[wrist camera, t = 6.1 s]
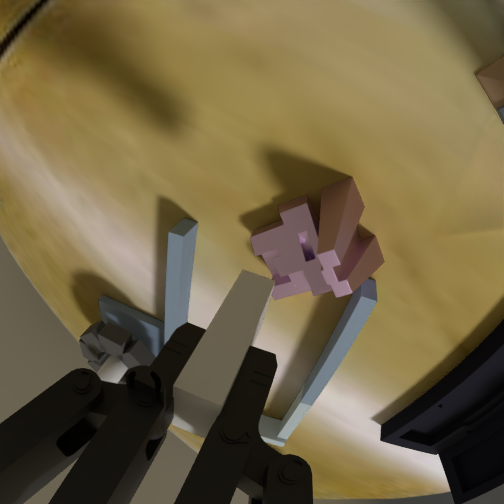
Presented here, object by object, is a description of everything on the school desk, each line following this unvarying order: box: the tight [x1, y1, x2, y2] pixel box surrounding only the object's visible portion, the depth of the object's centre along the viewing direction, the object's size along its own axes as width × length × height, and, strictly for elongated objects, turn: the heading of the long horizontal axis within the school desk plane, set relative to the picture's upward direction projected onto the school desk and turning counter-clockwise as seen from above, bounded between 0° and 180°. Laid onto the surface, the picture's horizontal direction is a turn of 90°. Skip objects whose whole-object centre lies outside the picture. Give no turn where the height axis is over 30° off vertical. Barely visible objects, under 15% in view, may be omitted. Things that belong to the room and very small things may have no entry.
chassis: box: [97, 218, 377, 447], centre depth 27 cm, size 24×25×8 cm
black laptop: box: [380, 320, 504, 504], centre depth 21 cm, size 21×16×10 cm
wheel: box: [79, 321, 156, 384], centre depth 31 cm, size 10×10×2 cm
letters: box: [250, 177, 385, 300], centre depth 20 cm, size 8×7×6 cm
